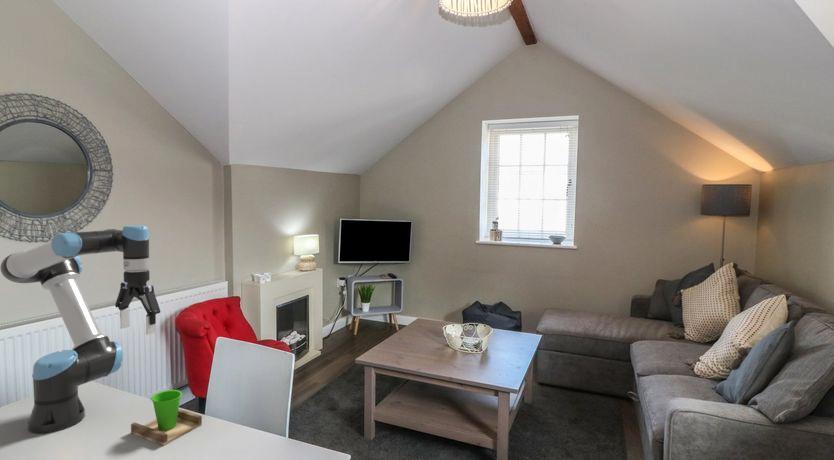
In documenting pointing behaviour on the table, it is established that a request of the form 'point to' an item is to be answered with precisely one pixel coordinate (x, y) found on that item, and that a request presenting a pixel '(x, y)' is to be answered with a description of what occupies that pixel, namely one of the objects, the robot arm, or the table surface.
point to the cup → (166, 408)
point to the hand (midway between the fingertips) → (137, 330)
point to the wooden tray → (183, 426)
